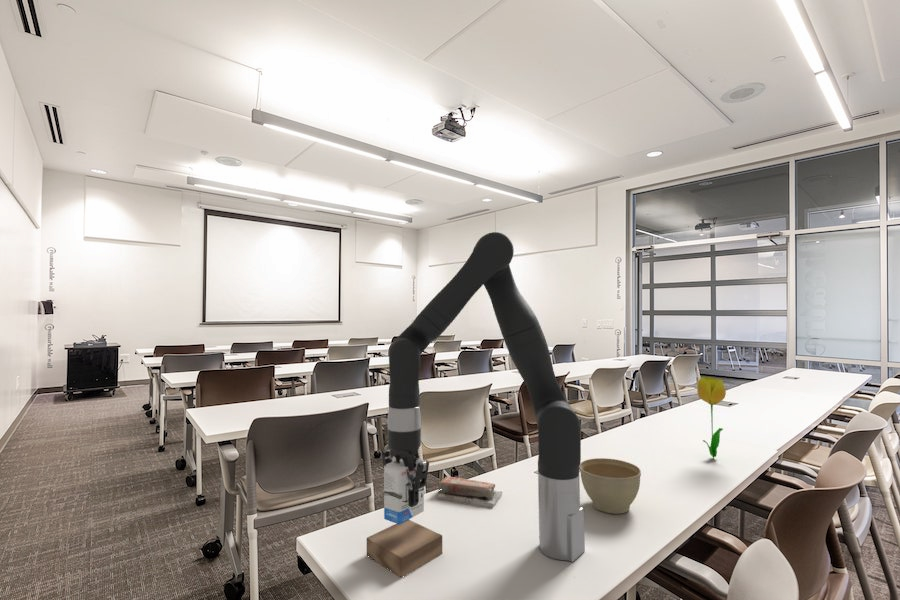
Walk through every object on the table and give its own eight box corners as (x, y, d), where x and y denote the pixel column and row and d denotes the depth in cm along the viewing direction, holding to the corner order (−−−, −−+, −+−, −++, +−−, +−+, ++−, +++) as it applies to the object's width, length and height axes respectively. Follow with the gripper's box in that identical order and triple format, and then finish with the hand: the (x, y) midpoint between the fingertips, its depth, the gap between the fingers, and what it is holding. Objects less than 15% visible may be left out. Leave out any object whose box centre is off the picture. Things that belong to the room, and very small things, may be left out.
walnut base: (442, 553, 95) (442, 535, 95) (401, 578, 86) (401, 558, 86) (406, 535, 103) (406, 518, 103) (366, 556, 94) (366, 537, 94)
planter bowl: (612, 491, 128) (611, 454, 128) (655, 514, 113) (654, 472, 113) (568, 500, 122) (567, 461, 122) (607, 525, 107) (606, 481, 107)
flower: (705, 461, 152) (702, 378, 154) (696, 454, 160) (693, 375, 162) (731, 463, 151) (728, 378, 152) (721, 455, 159) (718, 375, 160)
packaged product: (434, 483, 124) (447, 472, 133) (434, 500, 124) (447, 487, 133) (493, 492, 117) (502, 479, 127) (493, 510, 117) (502, 496, 126)
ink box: (399, 525, 90) (399, 469, 91) (382, 519, 93) (382, 465, 94) (425, 511, 97) (425, 459, 97) (409, 505, 100) (409, 454, 100)
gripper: (438, 428, 94) (438, 505, 93) (396, 418, 103) (396, 488, 103) (413, 435, 88) (413, 517, 87) (371, 423, 98) (371, 498, 97)
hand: (404, 501), depth 95 cm, fingers closed on ink box, 5 cm apart
